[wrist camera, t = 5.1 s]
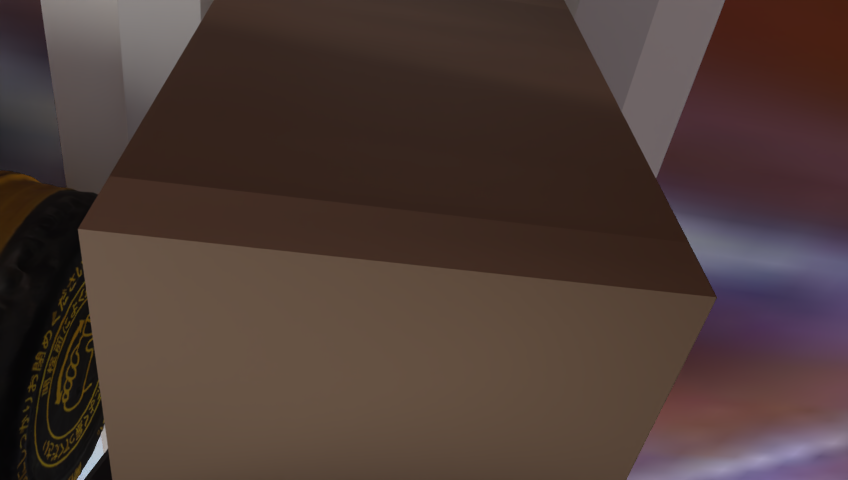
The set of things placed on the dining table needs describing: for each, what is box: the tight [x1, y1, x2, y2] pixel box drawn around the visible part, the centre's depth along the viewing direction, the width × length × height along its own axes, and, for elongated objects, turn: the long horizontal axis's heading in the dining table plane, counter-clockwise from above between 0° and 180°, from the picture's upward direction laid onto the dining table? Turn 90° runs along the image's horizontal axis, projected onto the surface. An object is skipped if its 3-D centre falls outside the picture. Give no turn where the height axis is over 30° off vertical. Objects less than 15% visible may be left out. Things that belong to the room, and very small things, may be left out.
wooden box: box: [78, 0, 717, 480], centre depth 11 cm, size 12×4×6 cm, turn 171°
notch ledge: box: [40, 0, 725, 453], centre depth 15 cm, size 20×11×2 cm, turn 171°
